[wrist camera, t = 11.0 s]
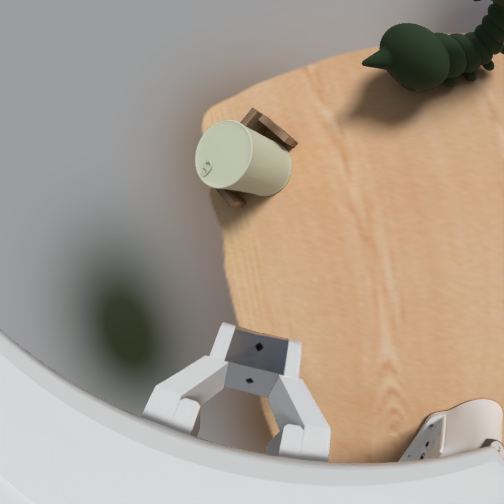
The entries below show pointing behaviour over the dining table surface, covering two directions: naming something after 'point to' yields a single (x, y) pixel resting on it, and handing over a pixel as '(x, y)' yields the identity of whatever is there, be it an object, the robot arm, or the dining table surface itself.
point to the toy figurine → (439, 52)
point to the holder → (260, 125)
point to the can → (242, 160)
